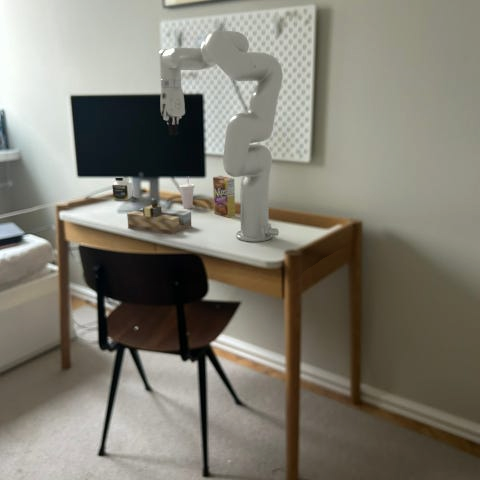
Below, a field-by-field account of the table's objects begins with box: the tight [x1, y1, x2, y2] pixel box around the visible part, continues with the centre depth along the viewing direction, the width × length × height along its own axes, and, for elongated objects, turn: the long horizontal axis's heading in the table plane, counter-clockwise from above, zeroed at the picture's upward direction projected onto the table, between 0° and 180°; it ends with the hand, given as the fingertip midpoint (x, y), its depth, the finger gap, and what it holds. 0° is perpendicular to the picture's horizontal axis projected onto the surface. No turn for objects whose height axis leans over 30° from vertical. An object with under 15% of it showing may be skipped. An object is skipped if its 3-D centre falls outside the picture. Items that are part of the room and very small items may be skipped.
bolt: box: [144, 198, 161, 217], centre depth 186 cm, size 2×6×5 cm, turn 153°
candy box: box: [212, 175, 236, 218], centre depth 206 cm, size 9×4×15 cm, turn 41°
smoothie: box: [178, 177, 195, 210], centre depth 218 cm, size 6×6×14 cm
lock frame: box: [126, 204, 192, 235], centre depth 190 cm, size 20×12×8 cm, turn 63°
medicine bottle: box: [111, 177, 133, 201], centre depth 237 cm, size 7×7×12 cm
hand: (173, 134), depth 197 cm, fingers closed
